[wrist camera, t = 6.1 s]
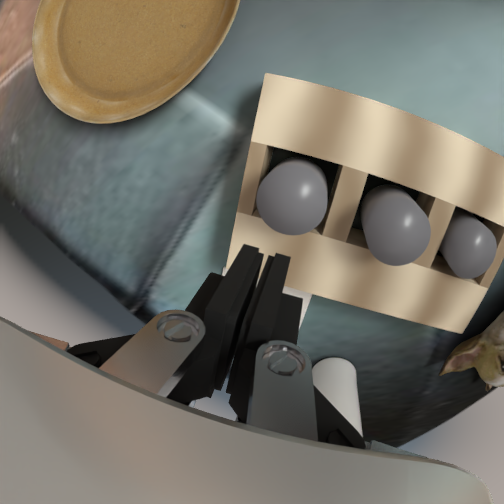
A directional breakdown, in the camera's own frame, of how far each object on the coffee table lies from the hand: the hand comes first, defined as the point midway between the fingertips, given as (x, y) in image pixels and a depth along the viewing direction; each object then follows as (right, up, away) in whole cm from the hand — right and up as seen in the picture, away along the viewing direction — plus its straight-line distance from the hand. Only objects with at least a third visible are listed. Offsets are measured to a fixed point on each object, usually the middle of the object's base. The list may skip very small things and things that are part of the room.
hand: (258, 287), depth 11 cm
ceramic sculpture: (+28, -7, +17) cm, 33 cm away
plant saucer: (-12, +25, +12) cm, 30 cm away
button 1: (+3, +6, +13) cm, 15 cm away
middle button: (+11, +4, +13) cm, 17 cm away
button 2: (+18, +3, +13) cm, 23 cm away
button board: (+11, +5, +15) cm, 19 cm away
